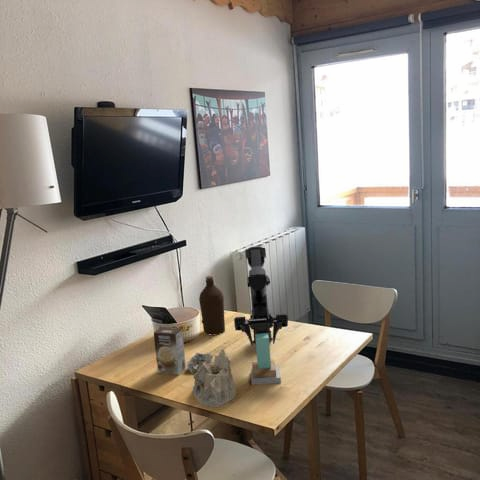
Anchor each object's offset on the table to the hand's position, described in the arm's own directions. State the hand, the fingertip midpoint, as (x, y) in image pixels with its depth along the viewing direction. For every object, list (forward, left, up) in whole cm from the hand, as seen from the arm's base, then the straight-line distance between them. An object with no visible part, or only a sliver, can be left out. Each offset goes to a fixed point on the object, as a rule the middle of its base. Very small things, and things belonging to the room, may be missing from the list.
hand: (262, 344), depth 181 cm
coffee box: (-36, -7, -13) cm, 39 cm away
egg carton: (-28, 0, -13) cm, 31 cm away
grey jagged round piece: (-11, -16, -13) cm, 24 cm away
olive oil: (-44, +33, -13) cm, 56 cm away
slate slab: (-1, +1, -13) cm, 13 cm away
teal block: (-1, +1, -8) cm, 8 cm away
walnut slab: (-1, +1, -11) cm, 11 cm away
